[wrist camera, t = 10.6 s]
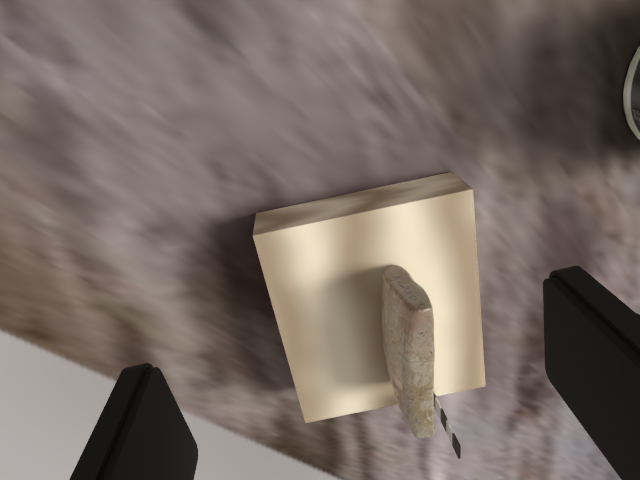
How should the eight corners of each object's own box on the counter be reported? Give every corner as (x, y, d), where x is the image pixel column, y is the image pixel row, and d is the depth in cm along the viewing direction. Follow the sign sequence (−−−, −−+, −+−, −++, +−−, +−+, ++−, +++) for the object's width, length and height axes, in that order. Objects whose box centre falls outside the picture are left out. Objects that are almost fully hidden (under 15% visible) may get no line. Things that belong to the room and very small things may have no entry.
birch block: (451, 171, 32) (473, 189, 29) (466, 353, 39) (485, 386, 35) (255, 213, 33) (252, 235, 29) (303, 386, 39) (305, 423, 36)
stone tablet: (461, 460, 30) (463, 303, 25) (404, 470, 30) (394, 314, 25) (431, 397, 36) (428, 257, 31) (382, 405, 35) (371, 266, 30)
